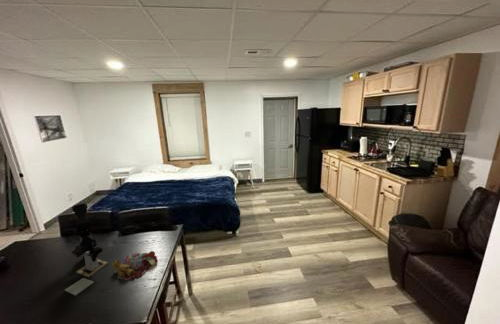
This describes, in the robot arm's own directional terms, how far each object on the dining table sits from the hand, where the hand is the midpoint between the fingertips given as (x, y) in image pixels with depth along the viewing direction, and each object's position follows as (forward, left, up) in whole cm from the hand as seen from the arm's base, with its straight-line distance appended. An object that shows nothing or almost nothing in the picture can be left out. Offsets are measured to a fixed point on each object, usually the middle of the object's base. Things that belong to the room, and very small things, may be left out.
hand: (91, 260), depth 137 cm
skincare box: (0, 0, -6) cm, 6 cm away
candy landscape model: (+26, +12, -7) cm, 30 cm away
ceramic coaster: (+9, -13, -6) cm, 17 cm away
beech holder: (0, 0, -6) cm, 6 cm away
